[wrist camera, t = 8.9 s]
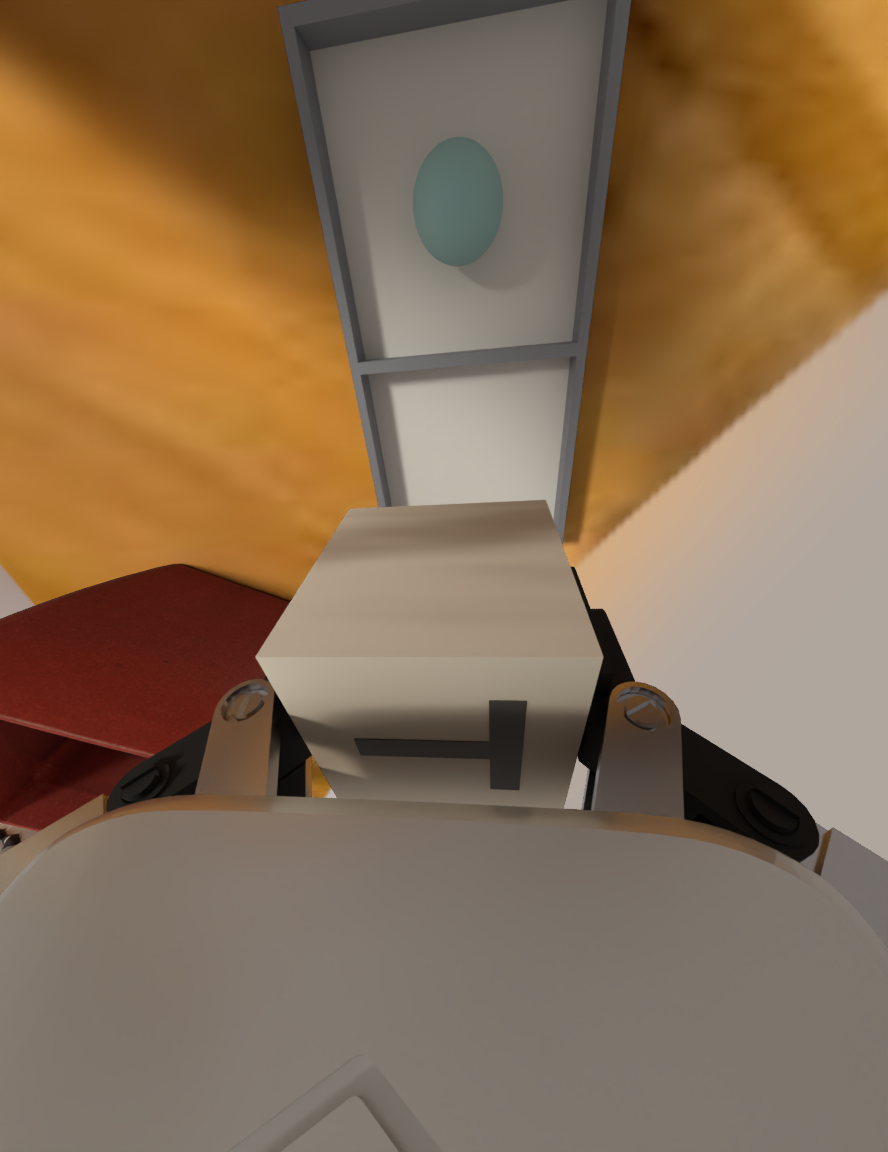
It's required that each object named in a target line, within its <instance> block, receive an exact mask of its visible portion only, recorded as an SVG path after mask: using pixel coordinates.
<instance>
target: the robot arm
mask: <svg viewBox="0 0 888 1152" xmlns="http://www.w3.org/2000/svg"><path fill="white" fill-rule="evenodd" d="M571 570H572V572H573V575H574V578H575V581H576V583H577V586H578V589H579V592H580V594H581V597H582V600H583V602H584V605H585V608H586V611H587V613H588V616H589V619H590V622H591V624H592V627H593V630H594V632H595V635H596V638H597V641H598V643H599V646H600V649H601V652H602V654H603V660H602V664H601V668H600V672H599V676H598V679H597V683H596V687H595V691H594V695H593V698H592V702H591V706H590V710H589V714H588V717H587V721H586V725H585V729H584V733H583V736H582V740H581V744H580V748H579V752H578V759H579V761H580V762H581V763H582V764H583V765H585V766H586V767H587V768H588V773H587V779H586V785H585V792H584V797H583V803H582V809H581V810H577V809H559V808H539V807H518V806H497V805H477V804H455V803H433V802H410V801H387V800H364V799H339V798H313V797H312V758H311V756H312V754H311V752H310V750H309V749H308V747H307V745H306V743H305V742H304V740H303V738H302V736H301V735H300V733H299V731H298V730H297V728H296V726H295V724H294V723H293V721H292V719H291V718H290V716H289V714H288V712H287V711H286V709H285V707H284V706H283V704H282V702H281V700H280V699H279V697H278V695H277V694H276V692H275V690H274V688H273V687H272V685H271V683H270V681H269V680H268V678H267V676H265V678H264V680H263V679H253V680H248V681H245V682H243V683H240V684H238V685H237V686H235V687H233V688H232V689H230V690H229V691H228V692H227V693H226V694H225V695H224V696H223V697H222V698H221V700H220V701H219V702H218V704H217V706H216V709H215V711H214V715H213V719H212V721H210V722H209V723H207V724H205V725H204V726H202V727H200V728H199V729H197V730H195V731H194V732H192V733H190V734H189V735H187V736H185V737H183V738H182V739H180V740H178V741H177V742H175V743H173V744H172V745H170V746H168V747H167V748H165V749H163V750H162V751H160V752H158V753H156V754H155V755H153V756H151V757H150V758H148V759H146V760H145V761H143V762H141V763H140V764H138V765H137V766H135V767H134V768H133V769H131V770H130V771H129V772H128V773H127V774H126V775H125V776H123V777H122V778H121V779H120V781H119V782H118V783H117V784H116V786H115V787H114V788H113V790H112V792H111V794H110V796H108V797H106V796H105V795H103V794H102V795H100V796H98V797H97V798H95V799H93V800H92V801H90V802H88V803H87V804H85V805H83V806H81V807H80V808H78V809H76V810H75V811H73V812H71V813H70V814H68V815H66V816H65V817H63V818H61V819H60V820H58V821H56V822H54V823H53V824H51V825H49V826H48V827H46V828H44V829H43V830H41V831H39V832H38V833H36V834H34V835H33V836H31V837H29V838H28V839H26V840H24V841H22V842H21V843H19V844H17V845H16V846H14V847H12V848H11V849H9V850H7V851H6V852H4V853H2V854H1V855H0V1152H888V861H886V860H884V859H883V858H881V857H880V856H878V855H877V854H875V853H873V852H872V851H870V850H868V849H867V848H865V847H864V846H862V845H861V844H859V843H857V842H856V841H854V840H853V839H851V838H849V837H848V836H846V835H844V834H843V833H841V832H840V831H838V830H837V829H835V828H832V829H830V830H829V831H828V830H826V829H825V828H823V827H821V826H820V825H818V824H817V823H815V820H814V819H813V818H812V816H811V815H810V813H809V811H808V810H807V808H806V807H805V806H804V805H803V804H802V803H801V802H800V801H799V800H798V799H797V798H796V797H795V796H794V795H793V794H792V793H790V792H789V791H788V790H786V789H785V788H783V787H782V786H781V785H779V784H778V783H776V782H774V781H773V780H771V779H769V778H768V777H766V776H765V775H763V774H761V773H759V772H758V771H757V770H755V769H753V768H752V767H750V766H748V765H747V764H745V763H744V762H742V761H740V760H739V759H737V758H736V757H734V756H732V755H731V754H729V753H728V752H726V751H724V750H723V749H721V748H719V747H718V746H716V745H715V744H713V743H711V742H710V741H708V740H707V739H705V738H703V737H702V736H700V735H699V734H697V733H695V732H694V731H692V730H690V729H689V728H687V727H686V726H684V725H682V724H681V718H680V714H679V710H678V708H677V707H676V705H675V704H674V702H673V701H672V700H671V699H670V698H669V697H668V696H667V695H666V694H665V693H664V692H662V691H661V690H659V689H657V688H656V687H654V686H651V685H648V684H646V683H641V682H635V680H634V678H633V675H632V673H631V671H630V668H629V666H628V663H627V661H626V659H625V656H624V654H623V652H622V650H621V647H620V645H619V642H618V640H617V638H616V635H615V633H614V631H613V628H612V626H611V624H610V621H609V619H608V617H607V614H606V612H605V611H604V610H603V609H590V606H589V604H588V601H587V599H586V596H585V593H584V591H583V588H582V585H581V583H580V580H579V578H578V575H577V572H576V570H575V568H574V567H571Z"/></svg>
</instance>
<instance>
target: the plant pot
mask: <svg viewBox="0 0 888 1152" xmlns="http://www.w3.org/2000/svg"><path fill="white" fill-rule="evenodd" d="M289 603H290V602H288V601H285V600H282V599H279V598H276V597H274V596H271V595H268V594H265V593H262V592H259V591H256V590H253V589H250V588H247V587H244V586H241V585H239V584H236V583H233V582H230V581H227V580H224V579H221V578H218V577H216V576H213V575H210V574H207V573H204V572H201V571H198V570H195V569H192V568H190V567H187V566H184V565H180V564H171V565H167V566H162V567H157V568H153V569H150V570H146V571H142V572H138V573H135V574H131V575H127V576H124V577H120V578H117V579H113V580H110V581H107V582H104V583H100V584H97V585H94V586H91V587H87V588H84V589H81V590H78V591H75V592H72V593H69V594H66V595H63V596H60V597H58V598H55V599H52V600H49V601H46V602H44V603H41V604H38V605H36V606H33V607H31V608H28V609H25V610H22V611H20V612H17V613H14V614H12V615H9V616H6V617H4V618H1V619H0V823H3V824H7V825H11V826H15V827H20V828H25V829H29V830H33V831H37V832H39V831H41V830H43V829H44V828H46V827H48V826H49V825H51V824H53V823H54V822H56V821H58V820H60V819H61V818H63V817H65V816H66V815H68V814H70V813H71V812H73V811H75V810H76V809H78V808H80V807H81V806H83V805H85V804H87V803H88V802H90V801H92V800H93V799H95V798H97V797H98V796H100V795H102V794H103V795H105V796H106V797H108V796H110V794H111V792H112V790H113V788H114V787H115V786H116V784H117V783H118V782H119V781H120V779H121V778H122V777H123V776H125V775H126V774H127V773H128V772H129V771H130V770H131V769H133V768H134V767H135V766H137V765H138V764H140V763H141V762H143V761H145V760H146V759H148V758H150V757H151V756H153V755H155V754H156V753H158V752H160V751H162V750H163V749H165V748H167V747H168V746H170V745H172V744H173V743H175V742H177V741H178V740H180V739H182V738H183V737H185V736H187V735H189V734H190V733H192V732H194V731H195V730H197V729H199V728H200V727H202V726H204V725H205V724H207V723H209V722H210V721H212V719H213V715H214V711H215V709H216V706H217V704H218V702H219V701H220V700H221V698H222V697H223V696H224V695H225V694H226V693H227V692H228V691H229V690H230V689H232V688H233V687H235V686H237V685H238V684H240V683H243V682H245V681H248V680H253V679H263V680H264V678H265V676H266V675H265V673H264V671H263V669H262V668H261V666H260V664H259V663H258V661H257V659H256V655H257V653H258V652H259V650H260V649H261V647H262V646H263V644H264V642H265V641H266V639H267V638H268V636H269V635H270V633H271V631H272V630H273V628H274V627H275V625H276V624H277V622H278V620H279V619H280V617H281V616H282V614H283V613H284V611H285V609H286V608H287V606H288V605H289Z"/></svg>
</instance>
